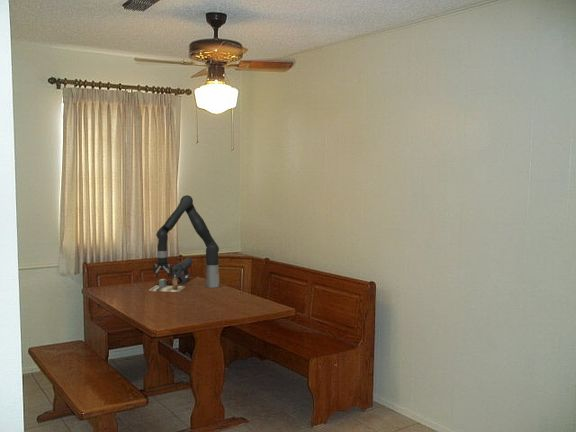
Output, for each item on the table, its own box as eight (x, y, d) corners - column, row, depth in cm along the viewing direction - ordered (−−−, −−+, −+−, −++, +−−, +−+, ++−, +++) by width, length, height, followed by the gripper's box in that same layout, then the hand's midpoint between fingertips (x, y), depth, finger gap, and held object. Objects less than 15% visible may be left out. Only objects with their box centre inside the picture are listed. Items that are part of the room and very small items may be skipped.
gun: (194, 281, 438) (194, 257, 437) (172, 288, 413) (172, 262, 411) (187, 280, 441) (187, 256, 440) (165, 287, 416) (165, 261, 414)
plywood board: (185, 287, 414) (185, 286, 414) (179, 291, 400) (179, 290, 399) (155, 286, 416) (155, 285, 416) (149, 291, 401) (149, 289, 401)
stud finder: (166, 285, 414) (166, 278, 414) (164, 287, 408) (164, 280, 408) (161, 285, 415) (161, 278, 414) (158, 287, 409) (158, 279, 408)
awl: (178, 289, 404) (177, 274, 403) (176, 290, 400) (176, 275, 400) (173, 288, 404) (173, 274, 403) (171, 289, 401) (171, 275, 400)
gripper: (173, 255, 413) (173, 276, 414) (154, 255, 414) (155, 276, 415) (170, 257, 405) (170, 278, 407) (151, 257, 406) (152, 278, 407)
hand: (163, 277), depth 411 cm, fingers open, 8 cm apart
